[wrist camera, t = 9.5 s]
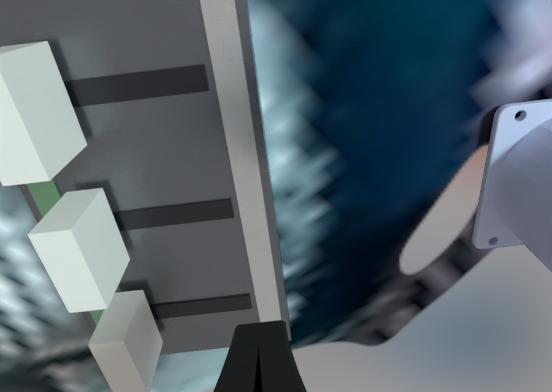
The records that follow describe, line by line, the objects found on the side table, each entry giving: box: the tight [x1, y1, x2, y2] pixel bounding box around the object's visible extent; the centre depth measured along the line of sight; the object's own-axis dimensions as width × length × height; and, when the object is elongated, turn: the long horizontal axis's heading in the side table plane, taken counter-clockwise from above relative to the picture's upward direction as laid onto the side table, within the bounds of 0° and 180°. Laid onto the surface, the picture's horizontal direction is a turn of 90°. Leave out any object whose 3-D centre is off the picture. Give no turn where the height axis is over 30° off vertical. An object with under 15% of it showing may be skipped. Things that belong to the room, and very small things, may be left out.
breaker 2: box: [88, 290, 163, 392], centre depth 19 cm, size 2×4×3 cm, turn 6°
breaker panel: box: [0, 0, 291, 355], centre depth 18 cm, size 11×19×2 cm, turn 6°
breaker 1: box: [0, 41, 87, 186], centre depth 13 cm, size 2×4×3 cm, turn 6°
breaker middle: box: [28, 188, 130, 313], centre depth 16 cm, size 2×4×3 cm, turn 6°
